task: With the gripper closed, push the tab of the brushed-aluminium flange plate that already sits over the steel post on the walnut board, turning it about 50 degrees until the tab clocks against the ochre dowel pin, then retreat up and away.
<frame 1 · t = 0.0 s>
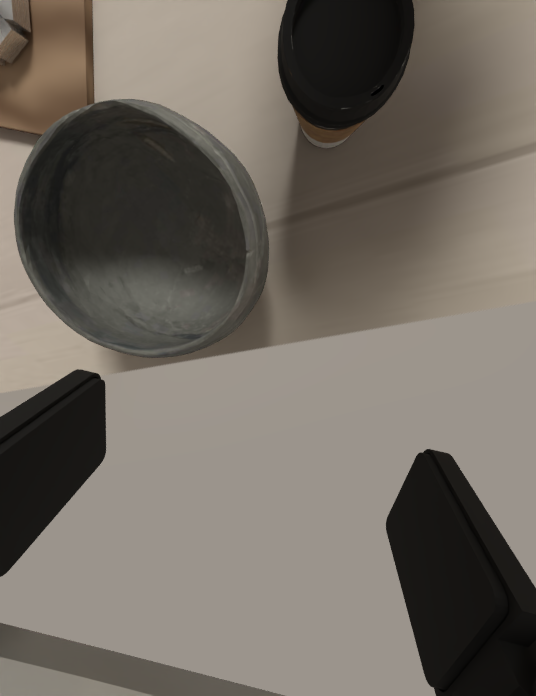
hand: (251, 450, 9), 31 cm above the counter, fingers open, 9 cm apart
coffee cup: (328, 115, 32), on the counter
bowl: (191, 241, 38), on the counter
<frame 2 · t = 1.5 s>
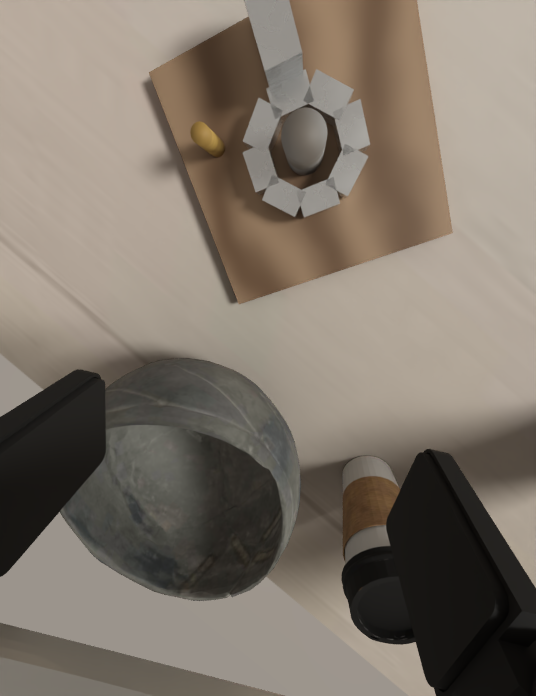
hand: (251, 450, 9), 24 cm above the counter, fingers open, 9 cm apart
post base: (305, 157, 27), on the counter
coffee cup: (366, 473, 38), on the counter
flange: (294, 109, 23), point 4 cm above the counter, hinge at 0.0°
bowl: (217, 413, 38), on the counter
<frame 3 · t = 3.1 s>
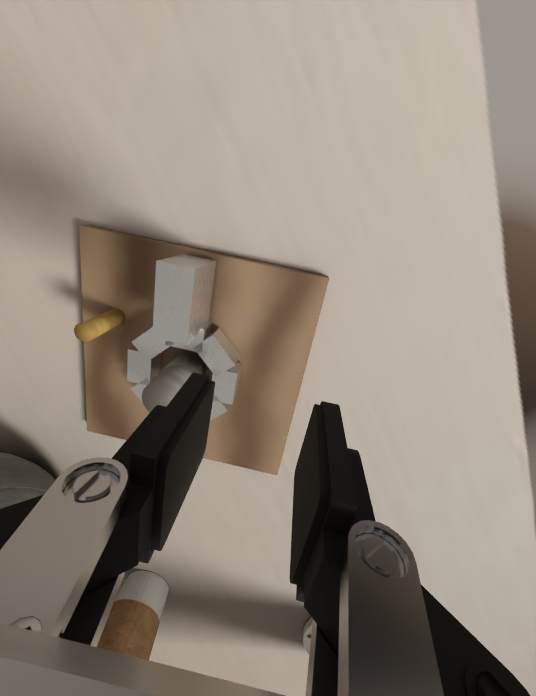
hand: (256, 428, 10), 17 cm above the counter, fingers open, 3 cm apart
post base: (194, 360, 29), on the counter
coffee cup: (148, 583, 43), on the counter
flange: (181, 352, 24), point 4 cm above the counter, hinge at 0.0°
bowl: (35, 487, 38), on the counter
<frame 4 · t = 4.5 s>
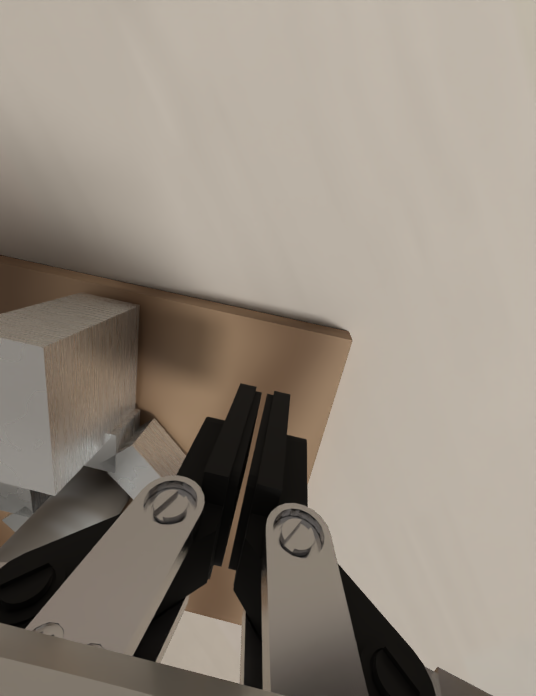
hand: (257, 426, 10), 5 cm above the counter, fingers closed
post base: (124, 457, 18), on the counter
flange: (74, 475, 13), point 4 cm above the counter, hinge at 0.0°
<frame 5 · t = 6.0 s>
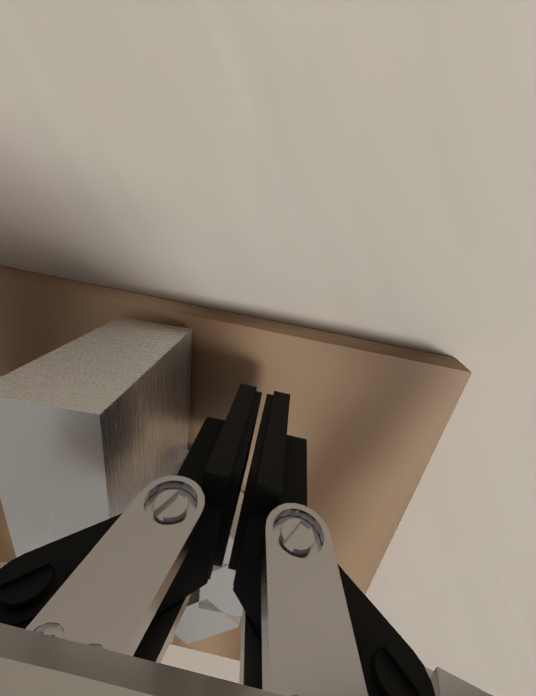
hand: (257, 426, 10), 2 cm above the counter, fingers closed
post base: (171, 498, 15), on the counter
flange: (125, 539, 11), point 4 cm above the counter, hinge at 2.7°, touching gripper
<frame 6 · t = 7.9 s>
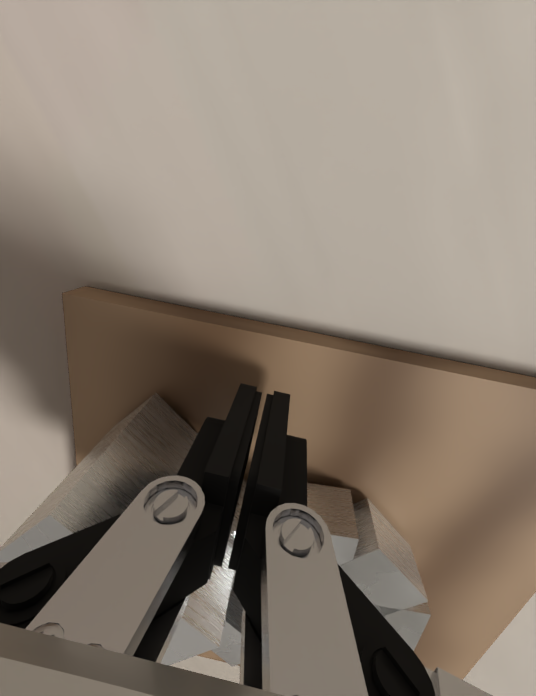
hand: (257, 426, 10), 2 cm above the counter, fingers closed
post base: (296, 531, 15), on the counter
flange: (248, 594, 11), point 4 cm above the counter, hinge at 50.0°, touching gripper, post base
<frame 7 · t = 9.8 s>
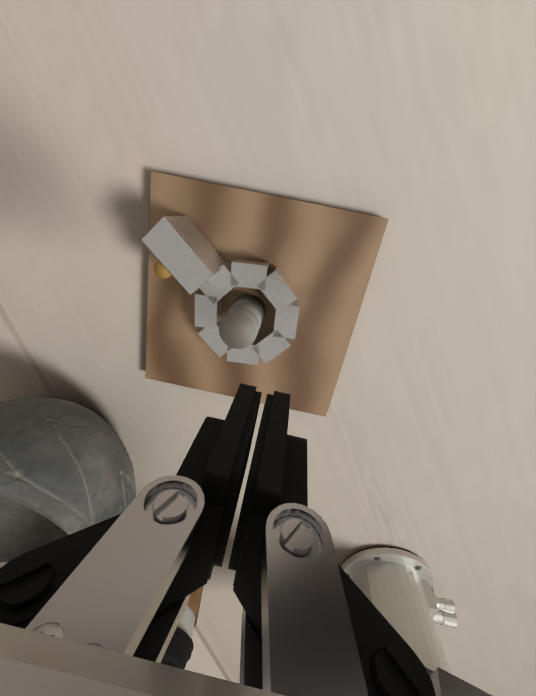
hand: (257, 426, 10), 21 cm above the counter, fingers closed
post base: (251, 306, 31), on the counter
coffee cup: (192, 531, 45), on the counter
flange: (225, 296, 27), point 4 cm above the counter, hinge at 49.9°
bowl: (88, 439, 40), on the counter
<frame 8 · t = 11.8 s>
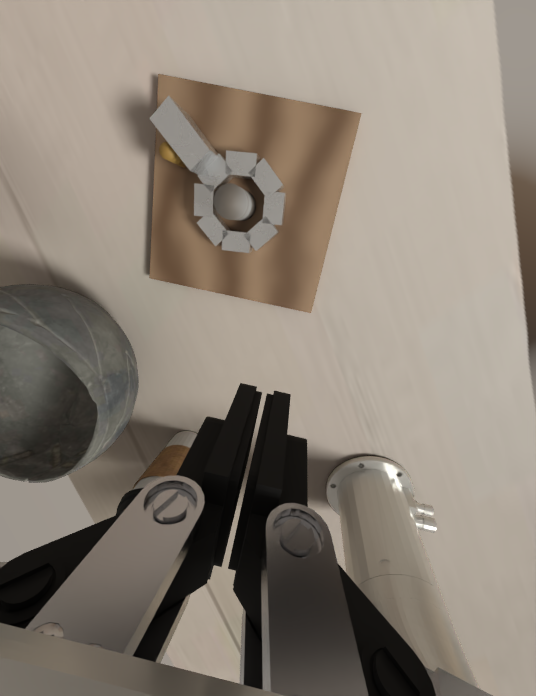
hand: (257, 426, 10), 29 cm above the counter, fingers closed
post base: (244, 206, 35), on the counter
coffee cup: (190, 445, 48), on the counter
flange: (220, 182, 31), point 4 cm above the counter, hinge at 49.9°
bowl: (95, 348, 44), on the counter
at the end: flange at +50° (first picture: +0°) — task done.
